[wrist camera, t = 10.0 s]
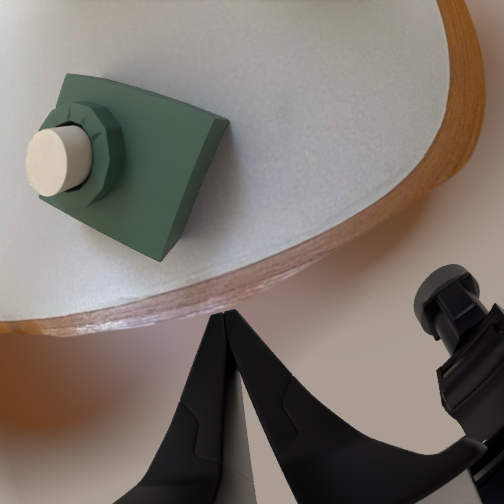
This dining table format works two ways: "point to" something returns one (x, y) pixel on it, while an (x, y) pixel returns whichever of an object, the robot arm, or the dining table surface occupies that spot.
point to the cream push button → (58, 159)
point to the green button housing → (135, 160)
